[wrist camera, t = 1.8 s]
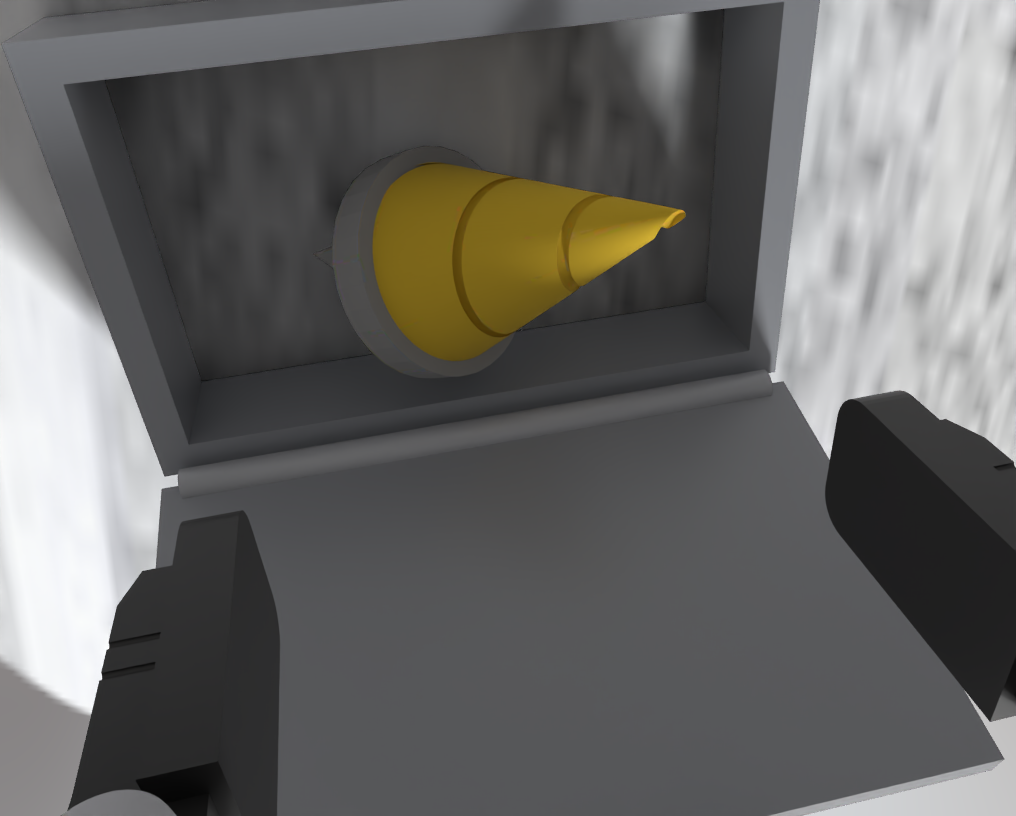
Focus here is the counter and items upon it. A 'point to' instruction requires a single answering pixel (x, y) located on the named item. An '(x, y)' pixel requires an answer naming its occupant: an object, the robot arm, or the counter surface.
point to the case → (366, 379)
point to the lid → (584, 617)
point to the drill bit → (468, 256)
